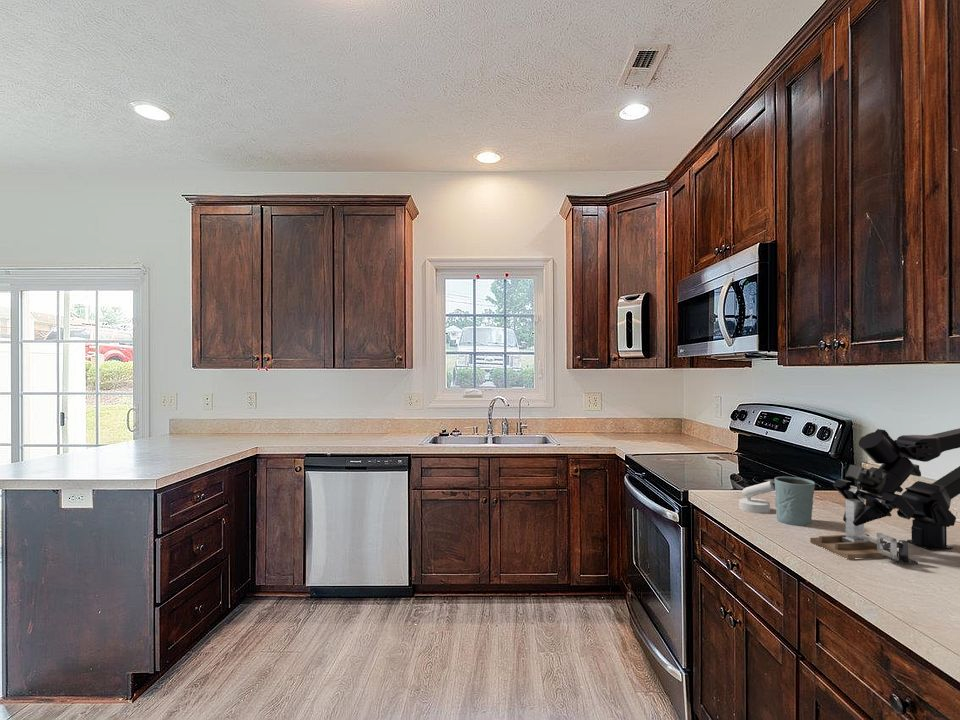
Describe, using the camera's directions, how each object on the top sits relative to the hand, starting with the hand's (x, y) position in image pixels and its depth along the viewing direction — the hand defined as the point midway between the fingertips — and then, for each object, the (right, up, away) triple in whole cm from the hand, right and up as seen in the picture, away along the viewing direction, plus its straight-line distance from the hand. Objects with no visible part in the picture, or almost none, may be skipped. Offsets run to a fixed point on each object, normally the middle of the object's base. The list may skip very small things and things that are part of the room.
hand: (849, 522), depth 131 cm
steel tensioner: (+2, -5, -5) cm, 7 cm away
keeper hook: (+5, -6, -9) cm, 12 cm away
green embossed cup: (0, -7, +23) cm, 24 cm away
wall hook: (-4, -7, +36) cm, 37 cm away
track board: (+1, -7, 0) cm, 7 cm away
